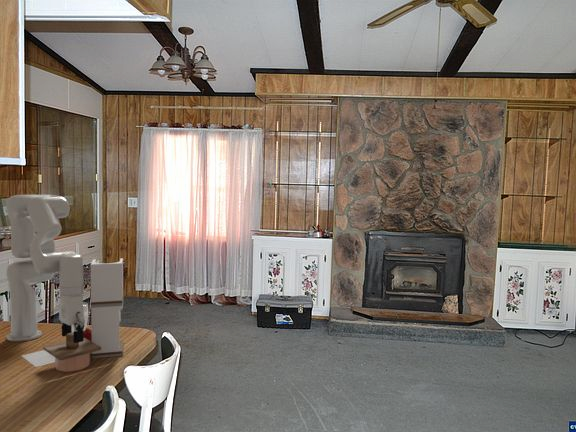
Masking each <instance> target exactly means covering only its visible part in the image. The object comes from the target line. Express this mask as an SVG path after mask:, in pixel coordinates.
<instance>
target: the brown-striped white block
mask: <svg viewBox="0 0 576 432" xmlns="http://www.w3.org/2000/svg"><path fill="white" fill-rule="evenodd" d="M90 306H91V307H90V309H91V310H90V311H91V313H90V315H91V316H90V317H91V330H92V342H93V343H95V344H97V345H98V346H100V347H101V350H99V351H95V352H91V359H100V358H110V357H120V356H122V357H123V356H124V348H125V345H124V343H125V342H124V340H122V341H121V340H120V323H121V321H122V320H121V311H122V310H123V308H124V258H121V257H120V258H119V261H117V262H110V263H109V262H108V263H102V262H101V263H98V262H97V259H96V258H94V259H93V260H92V261H91V263H90Z"/></svg>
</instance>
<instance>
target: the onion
mask: <svg viewBox="0 0 576 432" xmlns="http://www.w3.org/2000/svg"><path fill="white" fill-rule="evenodd" d="M83 334H84V338H85V339H87V340H89V341H91V342H92V329H90V328H89V327H88V326H87V327H86V330H85V331H83Z"/></svg>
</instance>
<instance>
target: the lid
mask: <svg viewBox="0 0 576 432" xmlns="http://www.w3.org/2000/svg"><path fill="white" fill-rule="evenodd" d="M43 350H45V351H46V352H48V353H49V354H51V355H52V356H54V357H55V358H57V359H58V360H64V359H68V358H72V357H76V356H80V355H84V354H87V353H90V354H92V352H95V351H99V350H101V347H100V346H98V345H97V344H95V343H93V342H91V341H89V340H87V339H85V338H84V341H82V342H78V343H74V339H73V333H68V334H66V336H65V341H64V342H60V343H59V342H58V343H55V344H51V345H50V344H49V345H45V346H43Z"/></svg>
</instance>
